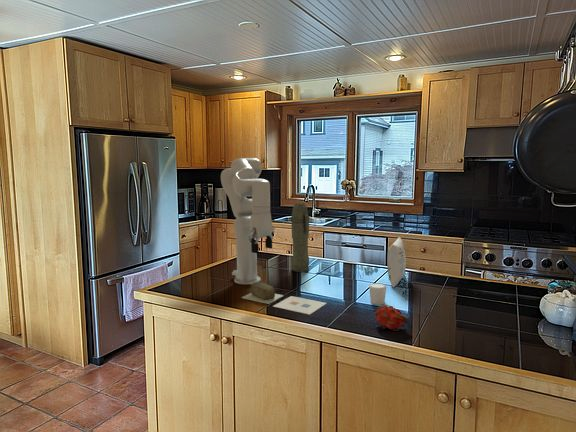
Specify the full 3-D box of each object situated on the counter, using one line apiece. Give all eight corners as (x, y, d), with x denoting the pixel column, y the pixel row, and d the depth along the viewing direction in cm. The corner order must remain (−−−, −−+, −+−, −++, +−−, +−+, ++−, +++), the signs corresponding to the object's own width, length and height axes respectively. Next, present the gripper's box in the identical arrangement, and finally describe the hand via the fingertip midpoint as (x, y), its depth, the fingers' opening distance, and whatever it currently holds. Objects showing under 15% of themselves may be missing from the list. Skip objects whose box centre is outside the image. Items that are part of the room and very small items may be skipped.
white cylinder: (387, 300, 171) (387, 283, 170) (385, 305, 165) (385, 288, 164) (370, 298, 173) (370, 282, 172) (367, 303, 167) (368, 287, 166)
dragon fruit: (372, 326, 148) (405, 339, 142) (366, 320, 142) (400, 333, 135) (381, 305, 151) (413, 316, 144) (375, 297, 144) (409, 309, 138)
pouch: (409, 277, 202) (410, 237, 199) (400, 289, 185) (401, 245, 182) (392, 275, 205) (393, 236, 202) (382, 286, 189) (383, 243, 186)
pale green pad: (241, 298, 176) (241, 297, 176) (257, 290, 185) (257, 290, 185) (268, 304, 168) (268, 303, 168) (283, 296, 178) (283, 295, 177)
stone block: (265, 301, 171) (264, 289, 170) (249, 294, 179) (249, 283, 179) (276, 298, 174) (276, 286, 173) (260, 291, 183) (260, 280, 182)
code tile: (272, 306, 166) (272, 305, 165) (291, 296, 177) (291, 295, 177) (309, 314, 156) (309, 314, 156) (326, 303, 168) (326, 302, 168)
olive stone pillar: (303, 273, 211) (303, 205, 206) (286, 269, 219) (285, 203, 214) (314, 269, 218) (314, 203, 213) (297, 266, 226) (297, 202, 221)
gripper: (266, 207, 181) (266, 245, 183) (240, 212, 167) (242, 253, 169) (280, 208, 177) (281, 247, 179) (255, 213, 163) (256, 255, 165)
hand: (262, 250), depth 174 cm, fingers open, 9 cm apart
